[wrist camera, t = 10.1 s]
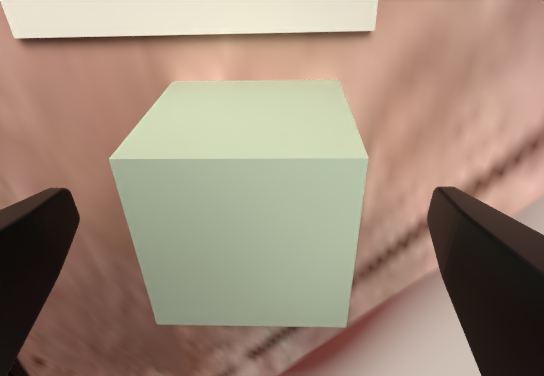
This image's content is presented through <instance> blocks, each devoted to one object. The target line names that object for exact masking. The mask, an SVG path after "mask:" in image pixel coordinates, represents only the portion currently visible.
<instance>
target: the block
mask: <svg viewBox="0 0 544 376" xmlns="http://www.w3.org/2000/svg"><path fill="white" fill-rule="evenodd" d="M368 159H369V158H368V156H367V153H366V150H365V148H364V145H363V142H362V140H361V137H360V134H359V132H358V129H357V126H356V124H355V121H354V118H353V116H352V113H351V110H350V107H349V105H348V102H347V99H346V97H345V94H344V91H343V89H342V86H341V83H340V81H339V79H320V80H235V81H173V82H172V83H171V84H170V85H169V86H168V88H167V89H166V90H165V91H164V92H163V94H162V95H161V96H160V97H159V99H158V100H157V101H156V102H155V103H154V105H153V106H152V107H151V108H150V109H149V111H148V112H147V113H146V114H145V116H144V117H143V118H142V119H141V120H140V122H139V123H138V124H137V125H136V126H135V128H134V129H133V130H132V131H131V133H130V134H129V135H128V136H127V137H126V139H125V140H124V141H123V142H122V143H121V145H120V146H119V147H118V148H117V150H116V151H115V152H114V153H113V154H112V156H111V157H110V158H109V162H110V165H111V169H112V172H113V176H114V179H115V183H116V186H117V189H118V193H119V196H120V200H121V203H122V207H123V210H124V214H125V217H126V220H127V224H128V227H129V231H130V234H131V238H132V241H133V244H134V248H135V251H136V255H137V258H138V262H139V265H140V268H141V272H142V275H143V279H144V282H145V286H146V289H147V293H148V296H149V299H150V303H151V306H152V310H153V313H154V317H155V320H156V323H157V325H216V326H283V327H346V325H347V318H348V310H349V303H350V295H351V287H352V280H353V272H354V265H355V257H356V249H357V242H358V234H359V227H360V219H361V212H362V204H363V196H364V189H365V181H366V174H367V166H368Z"/></svg>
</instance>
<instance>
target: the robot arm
mask: <svg viewBox="0 0 544 376" xmlns="http://www.w3.org/2000/svg"><path fill="white" fill-rule="evenodd" d="M79 221H80V217H79V213H78V210H77V207H76V205H75V202H74V199H73V197H72V194H71V192H70V191H69V190H68V189H66V188H49V189H47V190H45V191H42V192H40V193H38V194H36V195H33V196H31V197H29V198H27V199H24V200H22V201H20V202H18V203H15V204H13V205H11V206H9V207H6V208H4V209H2V210H0V376H24V375H23V373H22V372H21V370H20V369H19V368H18V366H17V365H16V363H15V362H14V361H15V359H16V357H17V356H18V354H19V352H20V350H21V348H22V346H23V344H24V342H25V340H26V338H27V336H28V334H29V332H30V330H31V329H32V327H33V325H34V323H35V321H36V319H37V317H38V315H39V313H40V311H41V309H42V307H43V305H44V303H45V302H46V300H47V298H48V296H49V294H50V292H51V290H52V288H53V286H54V284H55V282H56V280H57V278H58V276H59V274H60V271H61V269H62V267H63V264H64V262H65V259H66V256H67V254H68V251H69V249H70V246H71V243H72V241H73V238H74V236H75V233H76V230H77V228H78V225H79ZM427 222H428V227H429V230H430V234H431V238H432V242H433V246H434V249H435V253H436V257H437V261H438V265H439V268H440V272H441V275H442V278H443V281H444V284H445V286H446V289H447V291H448V293H449V296H450V298H451V301H452V304H453V306H454V309H455V311H456V313H457V316H458V318H459V321H460V323H461V326H462V328H463V331H464V333H465V336H466V338H467V341H468V343H469V346H470V348H471V351H472V353H473V356H474V358H475V361H476V363H477V366H478V368H479V371H480V373H481V376H544V235H542V234H541V233H539V232H537V231H535V230H533V229H531V228H529V227H528V226H526V225H524V224H522V223H520V222H518V221H516V220H515V219H513V218H511V217H509V216H507V215H505V214H503V213H502V212H500V211H498V210H496V209H494V208H492V207H490V206H489V205H487V204H485V203H483V202H481V201H479V200H478V199H476V198H474V197H472V196H470V195H468V194H466V193H465V192H463V191H461V190H459V189H457V188H455V187H437V188H435V190H434V191H433V195H432V199H431V203H430V207H429V211H428V216H427Z"/></svg>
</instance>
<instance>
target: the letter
mask: <svg viewBox="0 0 544 376" xmlns="http://www.w3.org/2000/svg"><path fill="white" fill-rule="evenodd" d="M0 1H1V4H2V7H3V9H4V12H5V15H6V17H7V20H8V23H9V25H10V28H11V31H12V33H13V36H14V38H54V37H102V36H150V35H198V34H245V33H293V32H341V31H375V24H376V15H377V6H378V0H0Z"/></svg>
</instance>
